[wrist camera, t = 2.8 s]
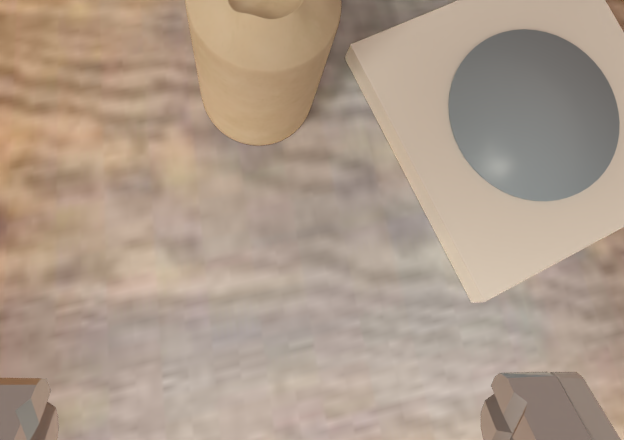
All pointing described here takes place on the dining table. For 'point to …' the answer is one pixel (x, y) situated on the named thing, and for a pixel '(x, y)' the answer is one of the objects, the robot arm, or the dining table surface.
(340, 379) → the dining table surface
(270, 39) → the candle
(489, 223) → the base board
